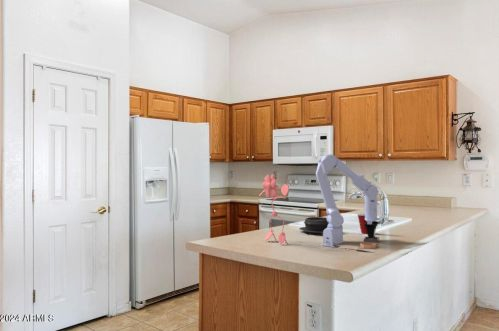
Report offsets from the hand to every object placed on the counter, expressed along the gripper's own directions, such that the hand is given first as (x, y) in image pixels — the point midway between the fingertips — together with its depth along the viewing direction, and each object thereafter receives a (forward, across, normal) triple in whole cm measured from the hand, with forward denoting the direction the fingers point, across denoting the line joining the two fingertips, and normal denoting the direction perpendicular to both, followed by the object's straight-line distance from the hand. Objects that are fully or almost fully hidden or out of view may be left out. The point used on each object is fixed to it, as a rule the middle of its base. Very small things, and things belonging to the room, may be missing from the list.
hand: (371, 237), depth 186 cm
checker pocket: (+2, 0, 0) cm, 2 cm away
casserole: (+4, +25, +32) cm, 41 cm away
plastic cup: (+4, +23, +4) cm, 24 cm away
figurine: (+4, -14, +47) cm, 49 cm away
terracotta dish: (+2, -15, 0) cm, 15 cm away
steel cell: (+2, 0, 0) cm, 2 cm away
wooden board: (+3, -8, 0) cm, 8 cm away
